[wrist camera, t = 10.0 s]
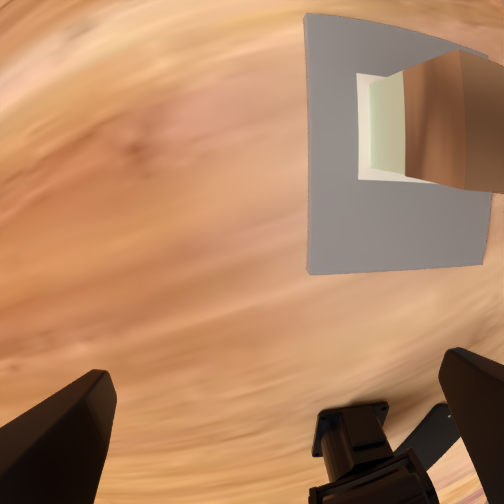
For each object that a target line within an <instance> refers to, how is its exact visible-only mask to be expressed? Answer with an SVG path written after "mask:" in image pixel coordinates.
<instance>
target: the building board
mask: <svg viewBox="0 0 504 504" xmlns="http://www.w3.org/2000/svg"><path fill="white" fill-rule="evenodd" d="M303 24H304V39H305V57H306V79H307V108H308V243H307V271H308V273H309V275H329V274H349V273H368V272H386V271H402V270H418V269H433V268H447V267H461V266H474V265H483V259H484V254H485V248H486V241H487V235H488V227H489V219H490V210H491V200H492V193H491V192H480V191H469V190H462V189H458V188H454V187H450V186H446V185H442V184H437V183H433V182H429V181H424V180H420V179H415V178H411V177H406V176H405V174H400V173H395V172H389V171H384V170H378V169H372V168H370V100H369V85H371V84H373V83H375V82H377V81H380V80H382V79H384V78H386V77H389V76H391V75H393V74H396V73H398V72H400V71H403V70H406V69H408V68H411V67H413V66H415V65H418V64H420V63H423V62H425V61H428V60H431V59H433V58H436V57H438V56H441V55H444V54H446V53H449V52H452V51H455V50H457V49H460V50H463V51H466V52H469V53H472V54H474V55H477V56H480V57H482V58H485V59H487V60H488V56H487V55H485V54H483V53H480V52H477V51H475V50H472V49H470V48H467V47H464V46H461V45H458V44H455V43H452V42H449V41H446V40H443V39H440V38H437V37H433V36H430V35H427V34H423V33H419V32H416V31H412V30H408V29H404V28H400V27H395V26H391V25H386V24H381V23H376V22H371V21H365V20H360V19H353V18H347V17H339V16H331V15H323V14H312V13H306V14H305V16H304V18H303Z"/></svg>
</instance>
